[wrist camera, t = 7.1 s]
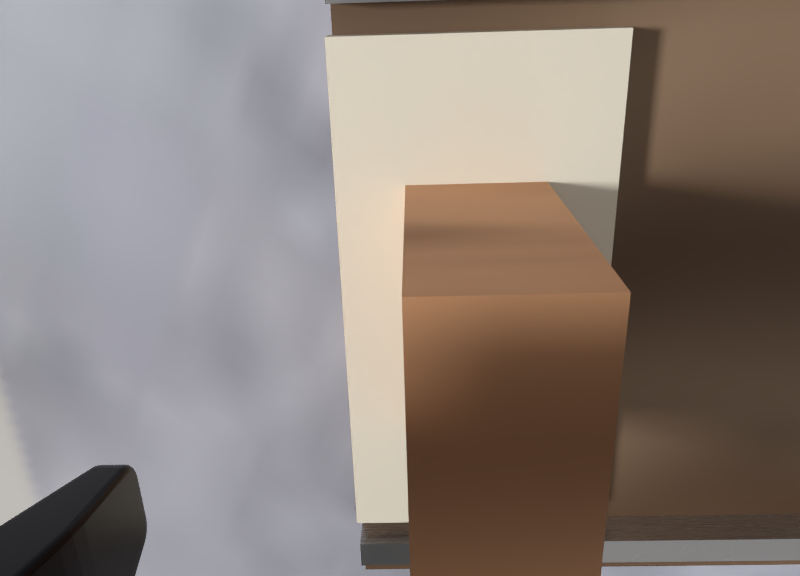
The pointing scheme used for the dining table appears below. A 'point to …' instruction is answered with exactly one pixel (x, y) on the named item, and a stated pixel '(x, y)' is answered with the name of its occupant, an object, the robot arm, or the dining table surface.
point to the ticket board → (684, 271)
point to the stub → (482, 289)
